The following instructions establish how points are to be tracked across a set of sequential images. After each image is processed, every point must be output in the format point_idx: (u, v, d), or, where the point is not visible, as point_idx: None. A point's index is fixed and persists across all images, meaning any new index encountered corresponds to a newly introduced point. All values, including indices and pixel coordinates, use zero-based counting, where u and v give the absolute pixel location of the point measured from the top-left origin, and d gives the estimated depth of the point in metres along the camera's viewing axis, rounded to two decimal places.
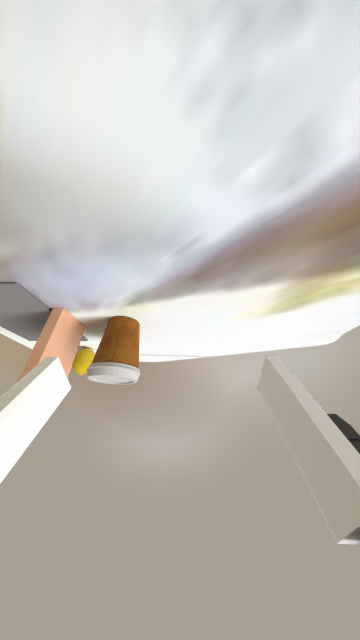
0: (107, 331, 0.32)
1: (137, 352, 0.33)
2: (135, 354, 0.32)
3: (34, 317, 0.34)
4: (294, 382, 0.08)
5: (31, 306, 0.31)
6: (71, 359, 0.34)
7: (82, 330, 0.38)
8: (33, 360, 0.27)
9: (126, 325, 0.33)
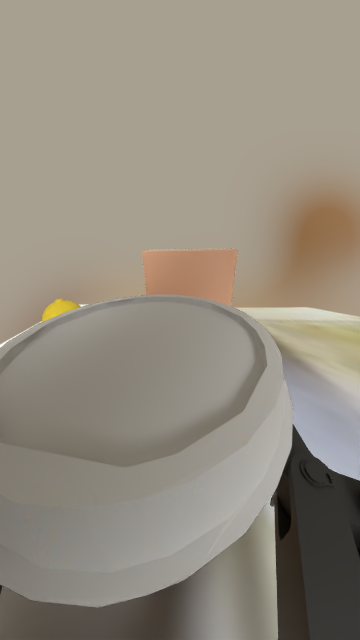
0: None
1: None
2: None
3: None
4: None
5: None
6: None
7: None
8: None
9: None
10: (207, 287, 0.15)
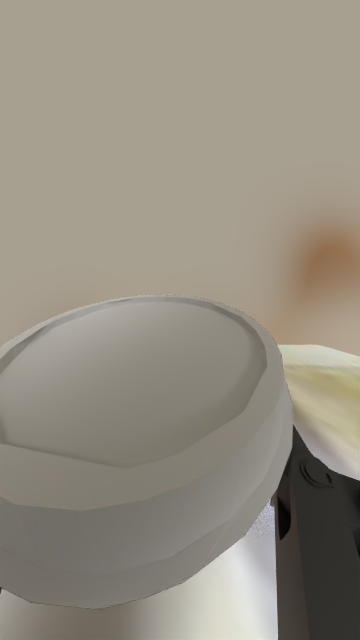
0: None
1: None
2: None
3: None
4: None
5: None
6: None
7: None
8: None
9: None
10: None
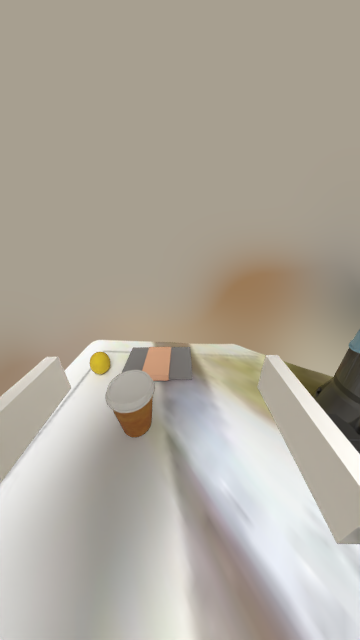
0: None
1: (130, 420, 0.32)
2: (134, 418, 0.32)
3: None
4: (294, 382, 0.08)
5: (172, 373, 0.52)
6: (148, 358, 0.55)
7: None
8: (170, 355, 0.58)
9: (148, 423, 0.36)
10: (163, 352, 0.58)
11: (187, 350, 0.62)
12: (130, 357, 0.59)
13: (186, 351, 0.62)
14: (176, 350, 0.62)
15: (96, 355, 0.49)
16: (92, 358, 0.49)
